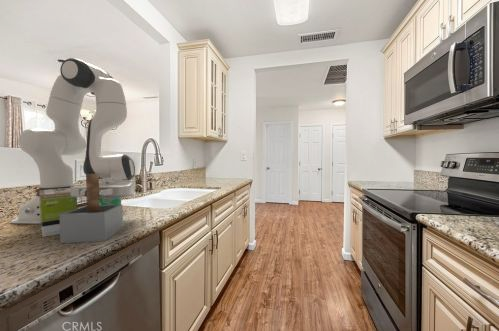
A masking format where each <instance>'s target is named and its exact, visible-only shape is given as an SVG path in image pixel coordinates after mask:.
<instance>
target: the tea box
mask: <svg viewBox="0 0 499 331" xmlns="http://www.w3.org/2000/svg"><path fill="white" fill-rule="evenodd" d="M39 198H40V217H41V224H40V226H41V227H40V228H41V236H42V237H43V238H45V237H50V236H55V235H56V236H57V235H60V216H59V214H62V213H65V212H68V211H71V210H74V209H77V208H78V197H71V195H70V188H59V189H48V190H40V191H39Z"/></svg>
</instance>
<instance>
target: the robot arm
mask: <svg viewBox="0 0 499 331" xmlns="http://www.w3.org/2000/svg"><path fill="white" fill-rule="evenodd" d="M59 72H60V75H58V76H57V77H56V79H55V81H54V83H53V85H52V87H51V90H50V93H49V98H48V102H47V106H46V111H45V114H46V116H47V118H48V119H50V120H51V121H53V125H54V129H47V128H30V129H29V128H28V129H24V130H23V131H22V132H21V133H19V136H18V138H17V142H18V147H20V149H21V150H22V151H23V152H25V153H26V154H27V155H29V157H31V159H33V161H34V162H35V164H36V166H37V168H38V172H39V182H40V184H39V185H40V187H38V188H37V189H33V193H36V194H35V197H33V198H32V199H30V200H29V201H27V202H25V203H24V204H23V205H21V206H20V208H19V210H18V216H17V217H16V218H13V219H11V220H10V224H34V225H35V224H37V225H38V224H40V225H41V217H40V198H39V191H40V190H48V189H59V188H70V195H71V197H77V198H87V190H86V184H84V185H83V184H82V185H74V175H73V174H74V173H73V172H74V170H73V168H72V167H71V166H70V165H68V164H66V163H65V161H64V159H63V158H62V156H74V155H80V154H82V153H83V152H84V151H85V150H86V151H85V157H84V162H83V167H82V168H83V173H84V174H85V175H86V174H99V180H100V181H99V196H101V197H102V198H104V199H107V200H113V199H116V198H120V197H121V198H127V197H133V196H135V191H136V190H135V188H136V184H137V182H136V179H135V175H136V166H135V163H134V160H133V159H132V158H131V157H130V156H129V155H127V154H125V153H124V154H123V153H122V154H112V155H101V152H102V151H101V148H102V139H103V137H104V135H105V134H106V133H108V132H109V131H111V130H112V129H115V128H118V127H120V126H121V125H122V124H123V123H124V122H125V121H126V120H127V116H128V115H127V114H128V111H127V110H128V109H127V108H128V107H127V102H126V96H125V92H124V89H123V87H122V86H123V85H122V84H121V83H120V82H119V81H118V80H115V79H114V77H113V76H112V75H111V74H110V73H108V72H107V71H104V70H103V69H101V68H99V67H98V66H97V65H93V64H91V63H88V62H86V61H84V60H82V59H78V58H74V57H70V58H66V59H65V60H64V61H63V62H62V63H61V65H60V70H59ZM87 94H91V95H93V96H95V105H96V109H95V113H94V116H93V117H92V118H91V119H90V120H89V122H88V125H87V126H88V127H87V133H86V134H87V135H86V138H85V137H84V136H83V135H82V133H81V131H80V130H81V129H80V125H79V121H80V120H79V119H80V116H81V115H80V114H81V110H82V108H83V107H82V106H83V102H84V98H85V95H87Z"/></svg>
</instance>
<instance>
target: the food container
mask: <svg viewBox="0 0 499 331" xmlns="http://www.w3.org/2000/svg"><path fill="white" fill-rule="evenodd" d="M100 205H122V197H120V198H116V199H113V200H107V199H104V198H102V197H101V196H100Z"/></svg>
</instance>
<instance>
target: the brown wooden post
mask: <svg viewBox="0 0 499 331" xmlns="http://www.w3.org/2000/svg"><path fill="white" fill-rule="evenodd" d="M99 183H100V179H99V174H85V185H86V190H87V197H86V206H87V213H95V212H100V196H99Z"/></svg>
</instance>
